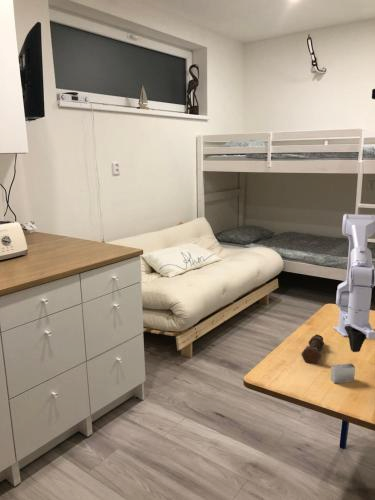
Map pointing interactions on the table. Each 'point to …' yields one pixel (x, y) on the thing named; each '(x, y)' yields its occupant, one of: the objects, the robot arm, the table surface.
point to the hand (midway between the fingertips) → (355, 350)
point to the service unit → (342, 373)
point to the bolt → (313, 350)
